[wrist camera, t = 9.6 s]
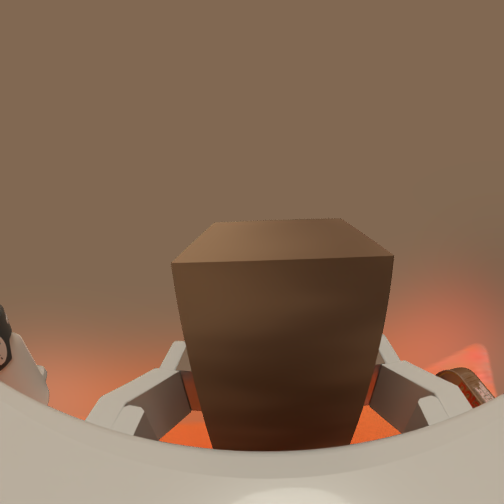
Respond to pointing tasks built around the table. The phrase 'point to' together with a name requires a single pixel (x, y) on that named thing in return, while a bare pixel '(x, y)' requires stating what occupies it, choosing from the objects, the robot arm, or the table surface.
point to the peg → (282, 329)
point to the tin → (468, 385)
